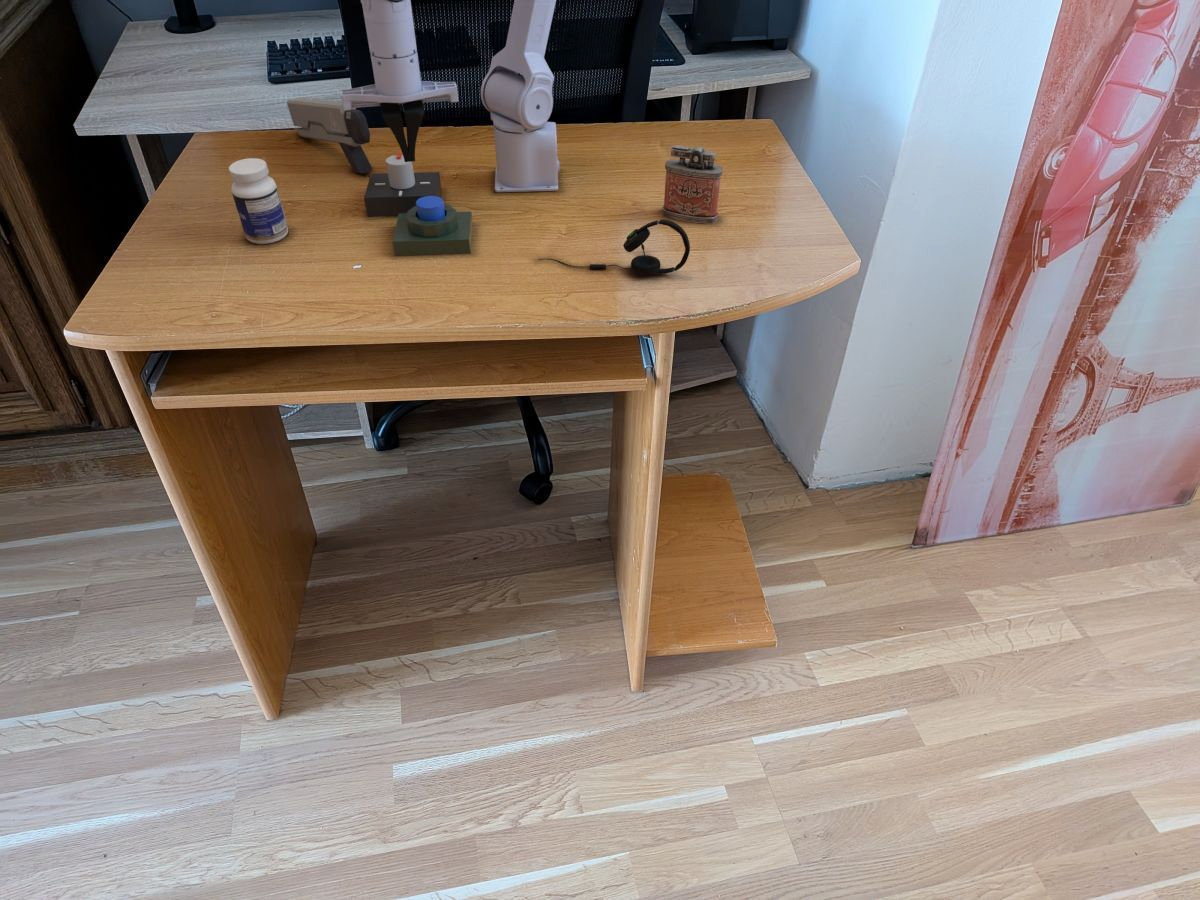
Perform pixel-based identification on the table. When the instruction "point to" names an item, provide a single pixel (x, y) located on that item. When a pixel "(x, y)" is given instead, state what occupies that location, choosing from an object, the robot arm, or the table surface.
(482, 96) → the robot arm
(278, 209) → the pill bottle
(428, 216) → the power button
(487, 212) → the table surface
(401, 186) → the dimmer knob
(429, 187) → the dimmer console
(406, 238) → the switch box
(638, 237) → the headset
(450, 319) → the table surface
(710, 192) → the lighter
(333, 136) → the gun
